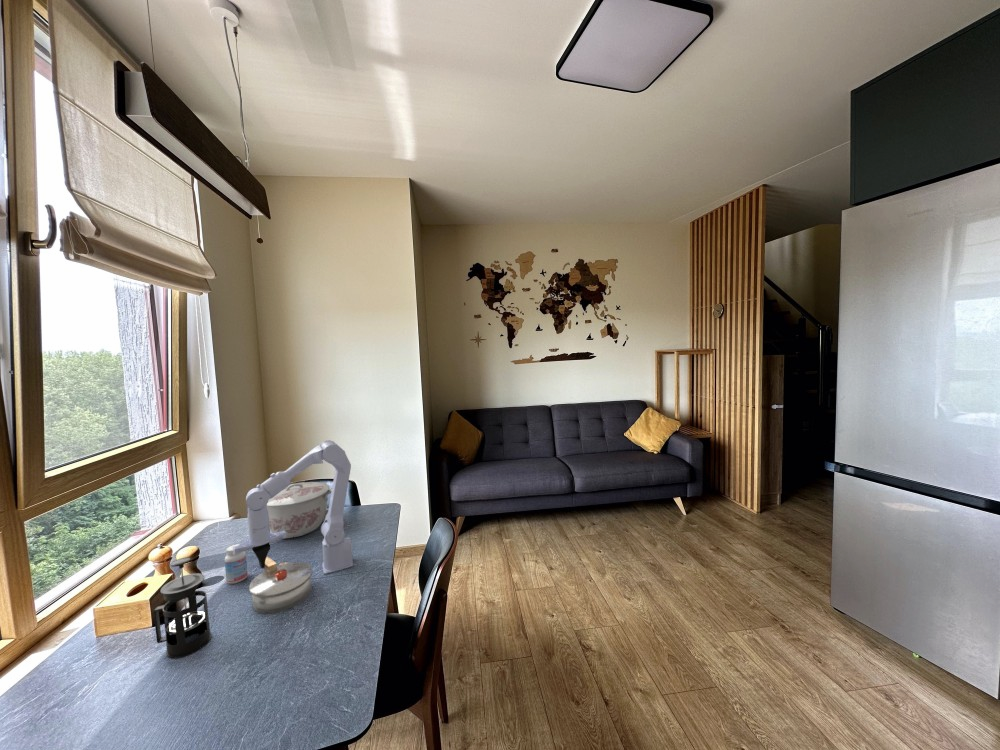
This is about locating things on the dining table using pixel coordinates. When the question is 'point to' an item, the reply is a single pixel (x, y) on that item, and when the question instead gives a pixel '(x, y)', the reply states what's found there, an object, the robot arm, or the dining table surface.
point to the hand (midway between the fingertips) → (262, 567)
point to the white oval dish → (282, 599)
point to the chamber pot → (298, 508)
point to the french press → (183, 614)
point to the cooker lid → (279, 578)
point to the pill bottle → (235, 566)
